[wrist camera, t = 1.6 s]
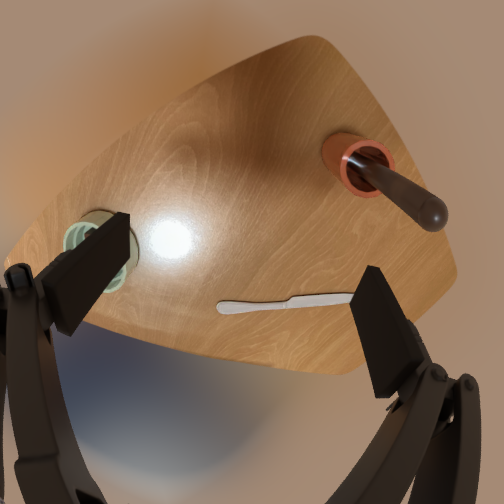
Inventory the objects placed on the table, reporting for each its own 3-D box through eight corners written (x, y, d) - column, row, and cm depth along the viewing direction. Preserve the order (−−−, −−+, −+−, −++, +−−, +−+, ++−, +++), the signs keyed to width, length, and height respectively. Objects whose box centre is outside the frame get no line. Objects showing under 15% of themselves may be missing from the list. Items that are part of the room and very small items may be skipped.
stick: (338, 144, 30) (434, 198, 11) (353, 149, 30) (459, 209, 11) (334, 159, 31) (421, 233, 12) (349, 164, 31) (446, 241, 12)
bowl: (76, 205, 37) (58, 216, 33) (139, 215, 37) (123, 229, 33) (84, 267, 43) (69, 282, 39) (141, 282, 43) (129, 300, 39)
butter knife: (214, 301, 43) (218, 315, 44) (364, 291, 40) (362, 305, 42) (215, 299, 43) (218, 313, 45) (363, 290, 41) (361, 304, 42)
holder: (326, 127, 30) (348, 132, 21) (367, 139, 30) (401, 150, 21) (316, 168, 33) (333, 189, 24) (357, 179, 33) (385, 204, 24)
